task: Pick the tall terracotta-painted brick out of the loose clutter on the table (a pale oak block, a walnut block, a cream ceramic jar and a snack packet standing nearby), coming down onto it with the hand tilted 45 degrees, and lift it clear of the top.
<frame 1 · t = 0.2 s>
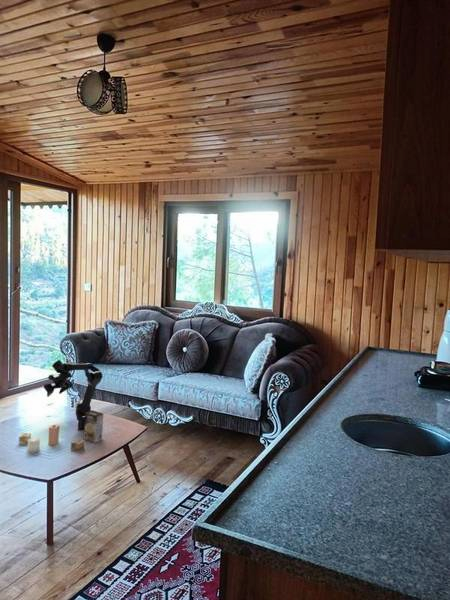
hand: (53, 394, 295), 15 cm above the table, tool tilted 35°, fingers open, 9 cm apart
walnut block: (77, 449, 250), on the table
cream jar: (33, 450, 245), on the table
terracotta brick: (53, 443, 255), on the table
coffee box: (92, 439, 265), on the table
oak block: (24, 442, 255), on the table
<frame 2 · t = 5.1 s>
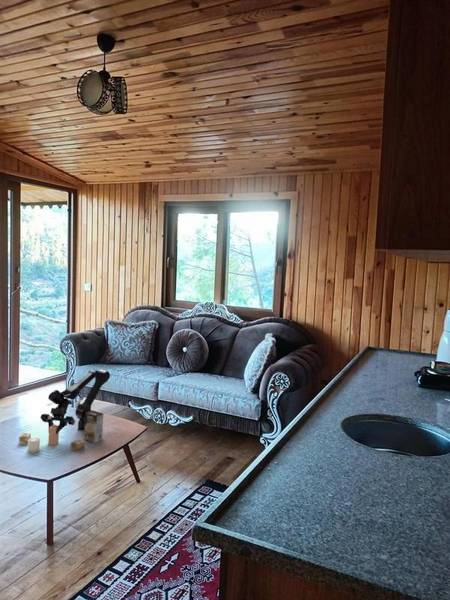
hand: (52, 433, 254), 7 cm above the table, tool tilted 45°, fingers closed on terracotta brick, 4 cm apart
terracotta brick: (53, 443, 255), on the table, touching gripper
everything else where it was.
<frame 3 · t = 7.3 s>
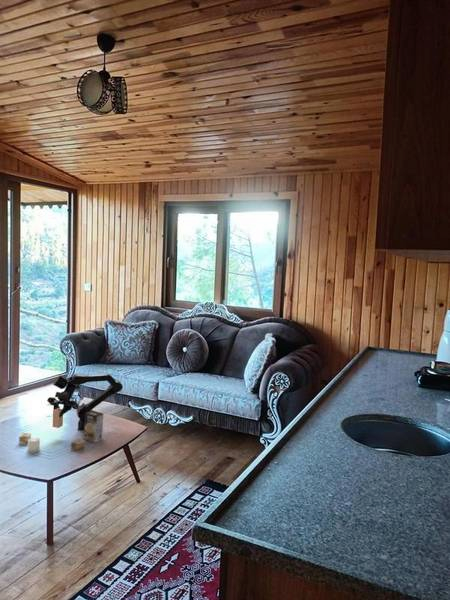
hand: (56, 416, 262), 13 cm above the table, tool tilted 45°, fingers closed on terracotta brick, 4 cm apart
terracotta brick: (57, 426, 264), point 7 cm above the table, touching gripper
everything else where it was.
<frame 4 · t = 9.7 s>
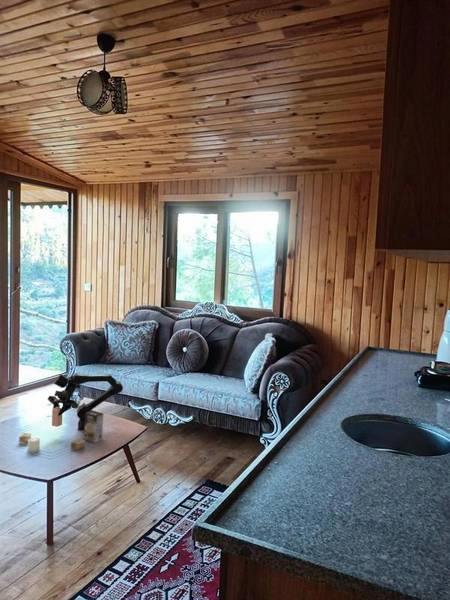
hand: (55, 414, 263), 14 cm above the table, tool tilted 45°, fingers closed on terracotta brick, 4 cm apart
terracotta brick: (56, 425, 265), point 7 cm above the table, touching gripper
everything else where it was.
at the end: the gripper is holding terracotta brick; terracotta brick point 6.9 cm above the table; walnut block moved 0.2 cm from its start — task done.
